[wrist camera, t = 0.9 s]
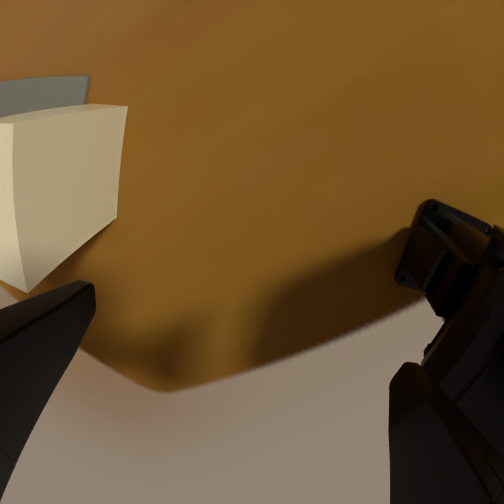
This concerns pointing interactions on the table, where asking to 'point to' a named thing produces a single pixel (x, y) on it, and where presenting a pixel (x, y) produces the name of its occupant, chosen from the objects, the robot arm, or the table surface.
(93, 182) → the glazed tile
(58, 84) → the rubber mat
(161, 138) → the table surface
